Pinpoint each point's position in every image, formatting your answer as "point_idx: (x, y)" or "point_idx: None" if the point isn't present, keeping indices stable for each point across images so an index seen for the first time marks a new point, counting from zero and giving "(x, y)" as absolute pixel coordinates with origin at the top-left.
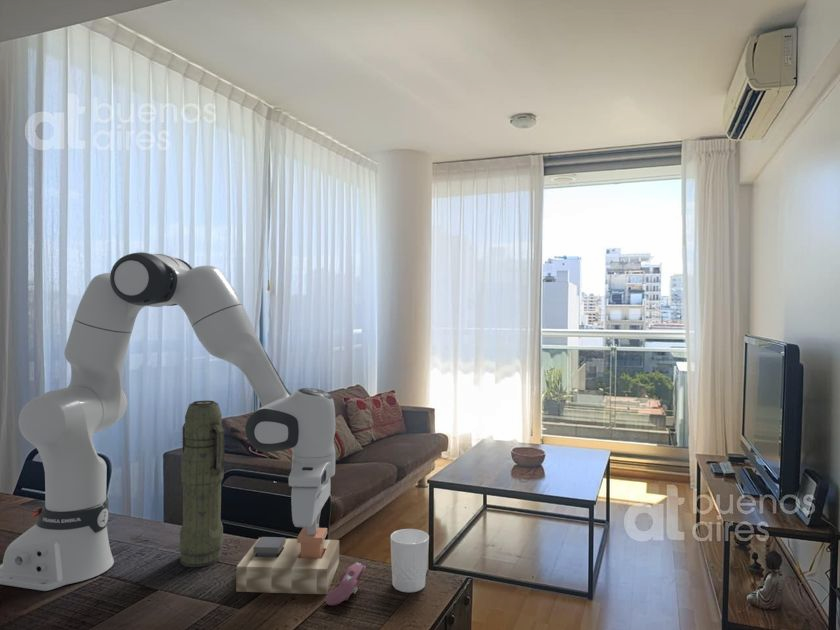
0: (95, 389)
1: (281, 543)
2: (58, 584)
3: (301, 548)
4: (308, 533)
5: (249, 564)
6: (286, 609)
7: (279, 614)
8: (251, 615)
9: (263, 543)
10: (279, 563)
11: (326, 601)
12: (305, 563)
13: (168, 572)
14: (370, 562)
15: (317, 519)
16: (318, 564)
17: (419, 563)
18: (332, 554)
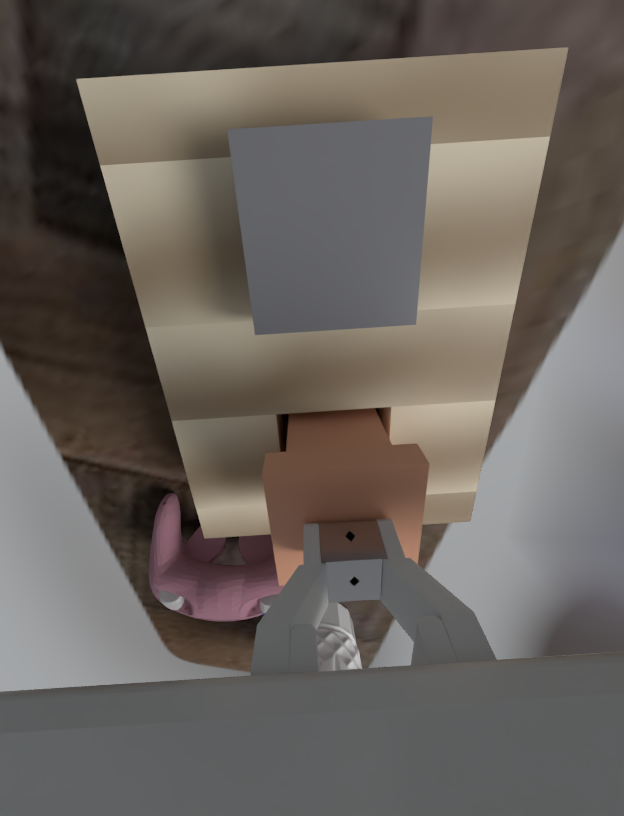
0: None
1: (322, 330)
2: None
3: (286, 449)
4: (303, 530)
5: (131, 173)
6: (104, 396)
7: (69, 385)
8: (18, 293)
9: (304, 194)
10: (198, 351)
11: (163, 498)
12: (229, 460)
13: None
14: (432, 539)
15: (394, 611)
16: (234, 505)
17: None
18: None
